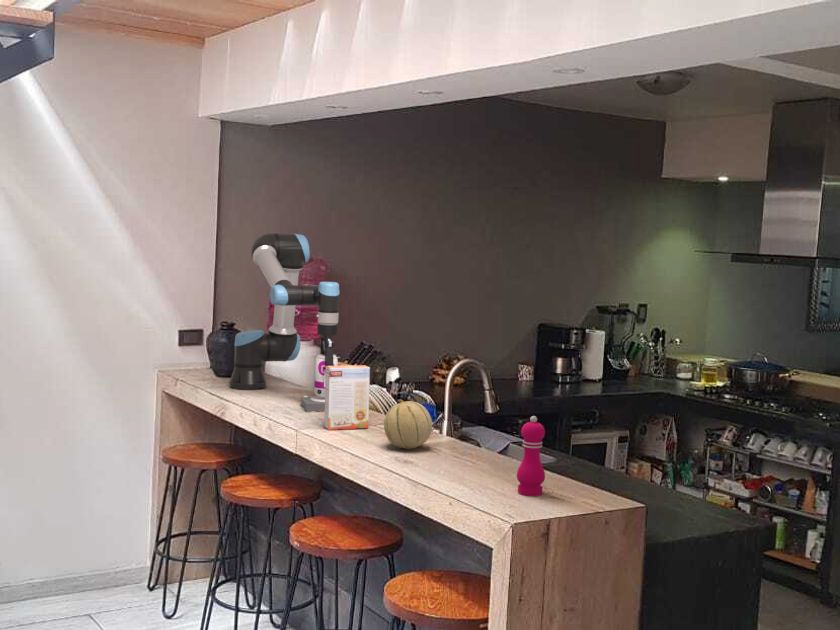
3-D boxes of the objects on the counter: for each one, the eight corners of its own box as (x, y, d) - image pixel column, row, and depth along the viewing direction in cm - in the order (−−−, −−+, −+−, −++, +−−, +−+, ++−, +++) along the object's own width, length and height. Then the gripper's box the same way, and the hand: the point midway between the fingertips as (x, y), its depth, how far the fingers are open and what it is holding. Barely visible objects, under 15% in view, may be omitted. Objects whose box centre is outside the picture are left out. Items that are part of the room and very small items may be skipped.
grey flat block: (300, 405, 363) (301, 395, 362) (342, 404, 367) (343, 395, 366) (306, 411, 349) (306, 401, 349) (349, 411, 353) (350, 401, 353)
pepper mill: (545, 491, 251) (549, 414, 249) (542, 498, 244) (546, 419, 242) (518, 488, 252) (521, 412, 251) (513, 495, 245) (517, 417, 244)
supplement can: (335, 397, 354) (336, 356, 352) (312, 396, 354) (314, 355, 352) (337, 393, 362) (338, 354, 360) (315, 393, 362) (316, 353, 361)
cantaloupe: (434, 454, 289) (436, 404, 288) (385, 453, 287) (387, 403, 286) (427, 443, 304) (429, 396, 302) (380, 443, 301) (382, 395, 300)
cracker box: (363, 425, 328) (365, 364, 326) (368, 429, 322) (370, 367, 321) (323, 427, 323) (325, 364, 321) (327, 430, 317) (329, 367, 316)
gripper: (313, 321, 365) (311, 380, 367) (322, 326, 344) (320, 389, 346) (333, 321, 367) (331, 380, 368) (343, 326, 346) (340, 389, 348)
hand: (325, 385), depth 357 cm, fingers closed on supplement can, 8 cm apart
